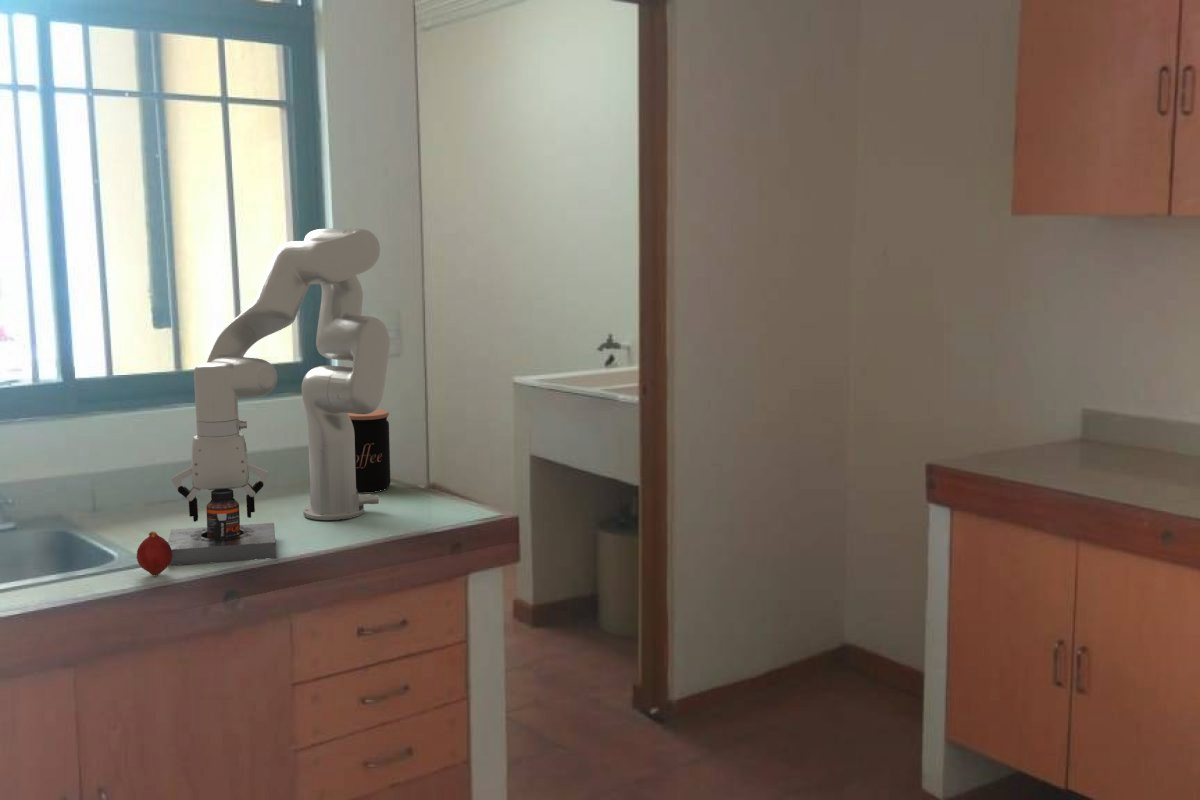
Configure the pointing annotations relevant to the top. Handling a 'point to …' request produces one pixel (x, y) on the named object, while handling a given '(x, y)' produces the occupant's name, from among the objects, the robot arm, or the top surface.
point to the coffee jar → (371, 450)
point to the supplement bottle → (223, 515)
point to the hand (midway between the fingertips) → (222, 518)
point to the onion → (154, 554)
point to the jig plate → (222, 545)
